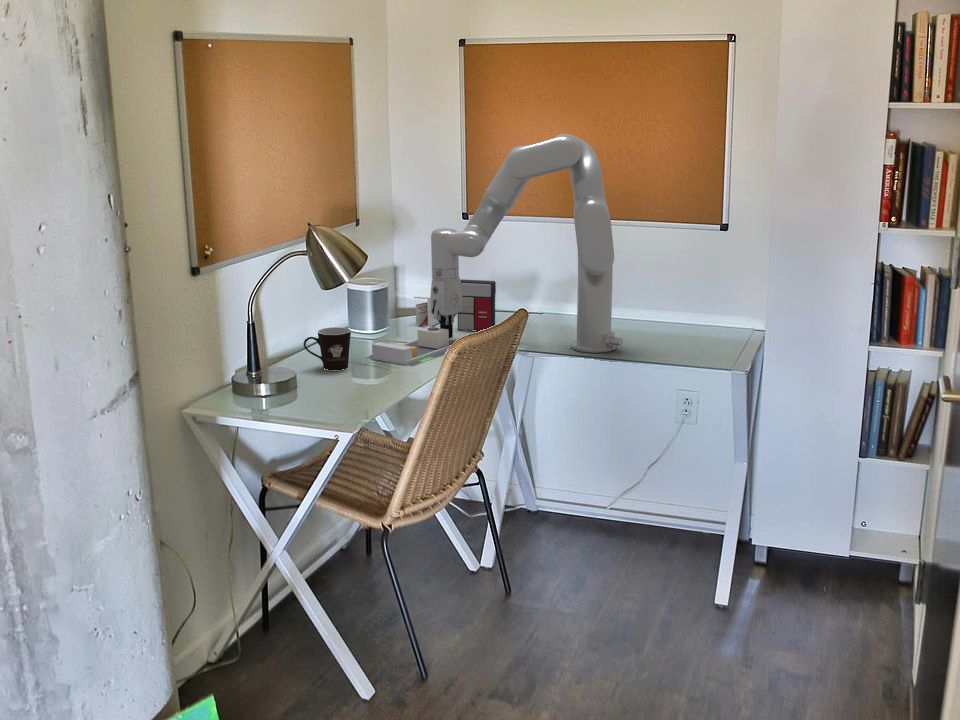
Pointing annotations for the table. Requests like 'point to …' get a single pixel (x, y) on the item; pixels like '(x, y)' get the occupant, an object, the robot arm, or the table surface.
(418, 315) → the cigarette display
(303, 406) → the table surface
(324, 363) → the coffee mug
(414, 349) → the orange rectangular block
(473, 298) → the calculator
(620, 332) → the table surface
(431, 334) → the block
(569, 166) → the robot arm
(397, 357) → the board
